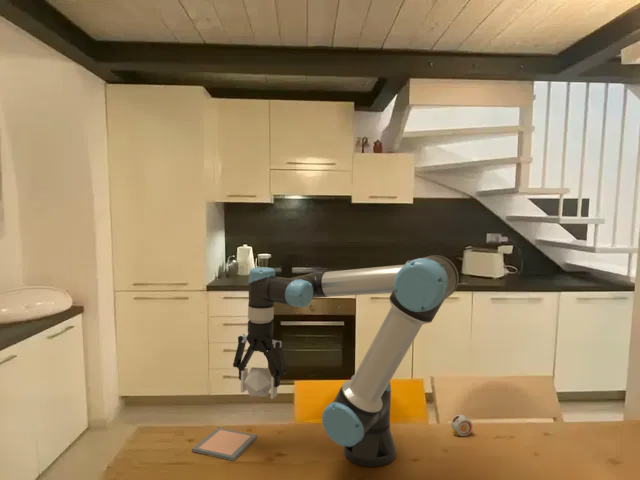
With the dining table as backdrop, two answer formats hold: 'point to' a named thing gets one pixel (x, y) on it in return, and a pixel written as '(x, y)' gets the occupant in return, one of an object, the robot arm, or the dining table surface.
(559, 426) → the dining table surface
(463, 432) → the roller toy
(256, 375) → the die
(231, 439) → the base plate
